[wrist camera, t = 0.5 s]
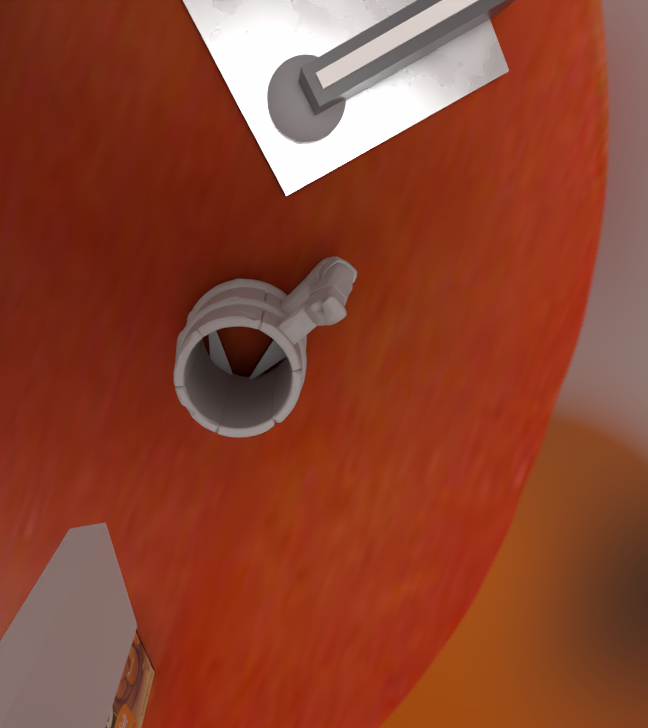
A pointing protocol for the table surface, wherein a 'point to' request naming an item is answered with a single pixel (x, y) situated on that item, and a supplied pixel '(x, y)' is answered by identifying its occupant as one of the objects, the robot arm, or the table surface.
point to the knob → (365, 63)
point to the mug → (288, 329)
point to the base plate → (316, 37)
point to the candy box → (132, 690)
